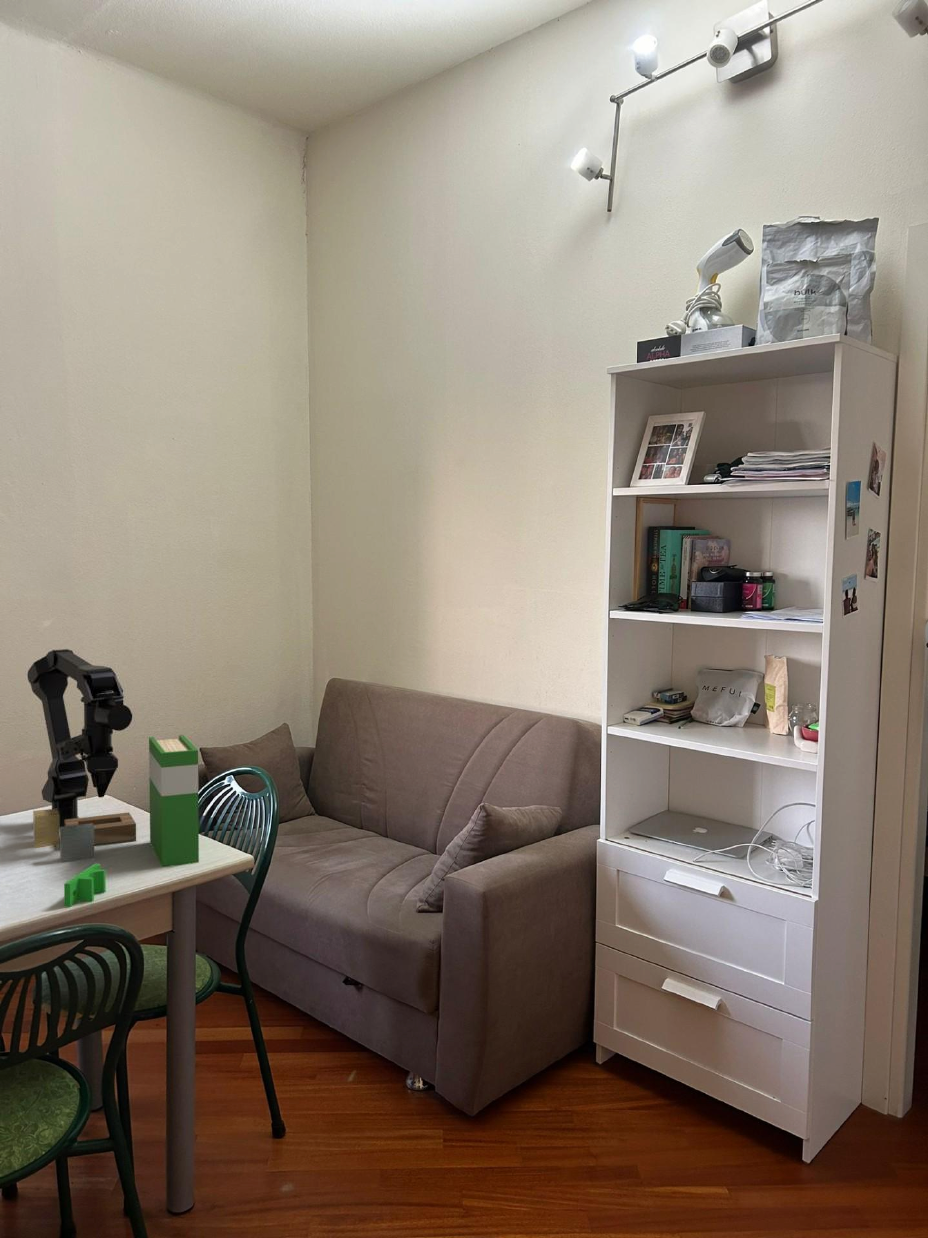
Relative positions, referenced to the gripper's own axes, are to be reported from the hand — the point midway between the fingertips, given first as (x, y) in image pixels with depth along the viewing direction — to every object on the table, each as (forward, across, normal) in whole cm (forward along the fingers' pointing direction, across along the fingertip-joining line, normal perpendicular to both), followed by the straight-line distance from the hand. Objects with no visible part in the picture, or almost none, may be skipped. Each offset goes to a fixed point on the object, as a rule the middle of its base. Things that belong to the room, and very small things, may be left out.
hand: (98, 792), depth 211 cm
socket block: (+11, 0, 0) cm, 11 cm away
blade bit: (+11, +12, -6) cm, 17 cm away
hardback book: (+11, +16, +14) cm, 24 cm away
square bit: (+11, -2, -11) cm, 15 cm away
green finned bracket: (+11, +36, -6) cm, 38 cm away
